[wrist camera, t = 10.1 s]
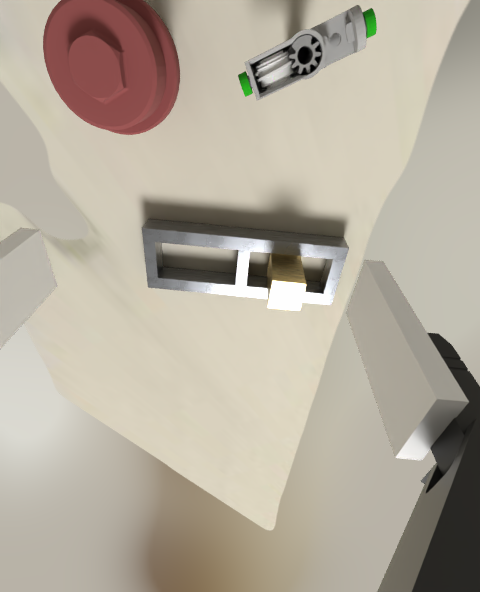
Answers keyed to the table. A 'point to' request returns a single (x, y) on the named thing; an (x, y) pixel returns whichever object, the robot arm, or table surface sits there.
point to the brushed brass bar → (285, 282)
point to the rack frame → (239, 258)
